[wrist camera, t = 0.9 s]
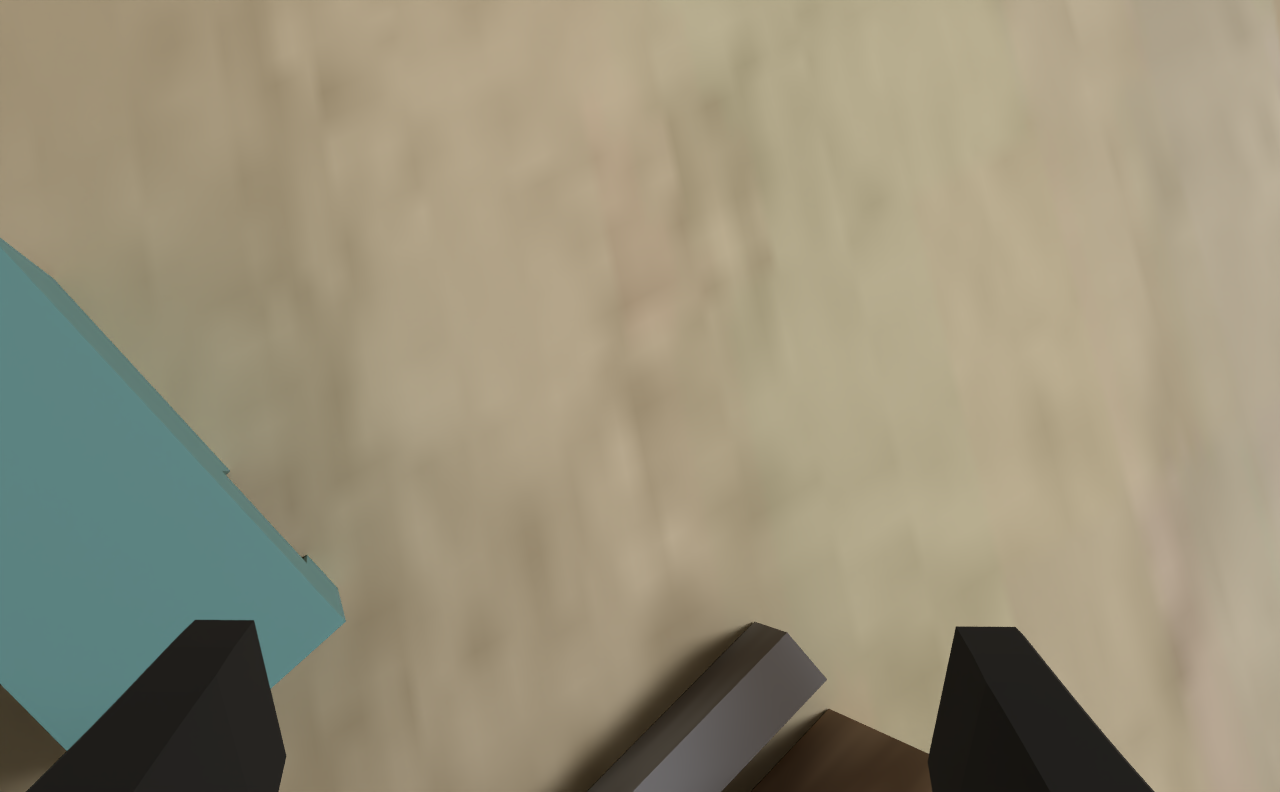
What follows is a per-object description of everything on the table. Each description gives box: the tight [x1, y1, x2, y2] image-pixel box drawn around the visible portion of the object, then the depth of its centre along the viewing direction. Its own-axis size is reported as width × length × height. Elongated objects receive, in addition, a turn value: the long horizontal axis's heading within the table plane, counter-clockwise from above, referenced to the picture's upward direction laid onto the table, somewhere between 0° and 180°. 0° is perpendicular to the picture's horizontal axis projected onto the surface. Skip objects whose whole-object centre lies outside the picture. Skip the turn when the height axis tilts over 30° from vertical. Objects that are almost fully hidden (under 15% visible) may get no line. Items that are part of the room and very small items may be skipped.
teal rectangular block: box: [0, 238, 346, 751], centre depth 21 cm, size 4×9×6 cm, turn 42°
